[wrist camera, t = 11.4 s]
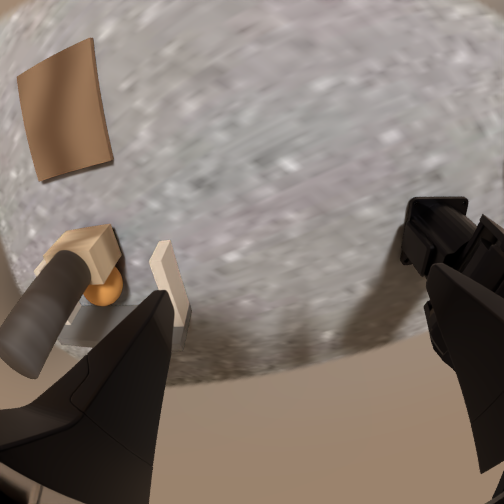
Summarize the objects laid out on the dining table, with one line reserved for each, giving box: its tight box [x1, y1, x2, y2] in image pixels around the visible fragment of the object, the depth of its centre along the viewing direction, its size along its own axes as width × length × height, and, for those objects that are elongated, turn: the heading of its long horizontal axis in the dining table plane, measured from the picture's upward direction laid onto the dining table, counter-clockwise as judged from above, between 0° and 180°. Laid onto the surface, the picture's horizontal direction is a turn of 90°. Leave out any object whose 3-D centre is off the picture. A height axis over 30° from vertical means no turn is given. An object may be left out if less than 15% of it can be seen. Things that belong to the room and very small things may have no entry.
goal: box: [34, 240, 192, 351], centre depth 24 cm, size 14×8×5 cm, turn 96°
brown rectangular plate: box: [17, 38, 114, 181], centre depth 17 cm, size 8×10×1 cm
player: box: [0, 224, 122, 379], centre depth 17 cm, size 5×4×13 cm
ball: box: [83, 266, 123, 306], centre depth 23 cm, size 4×4×4 cm
